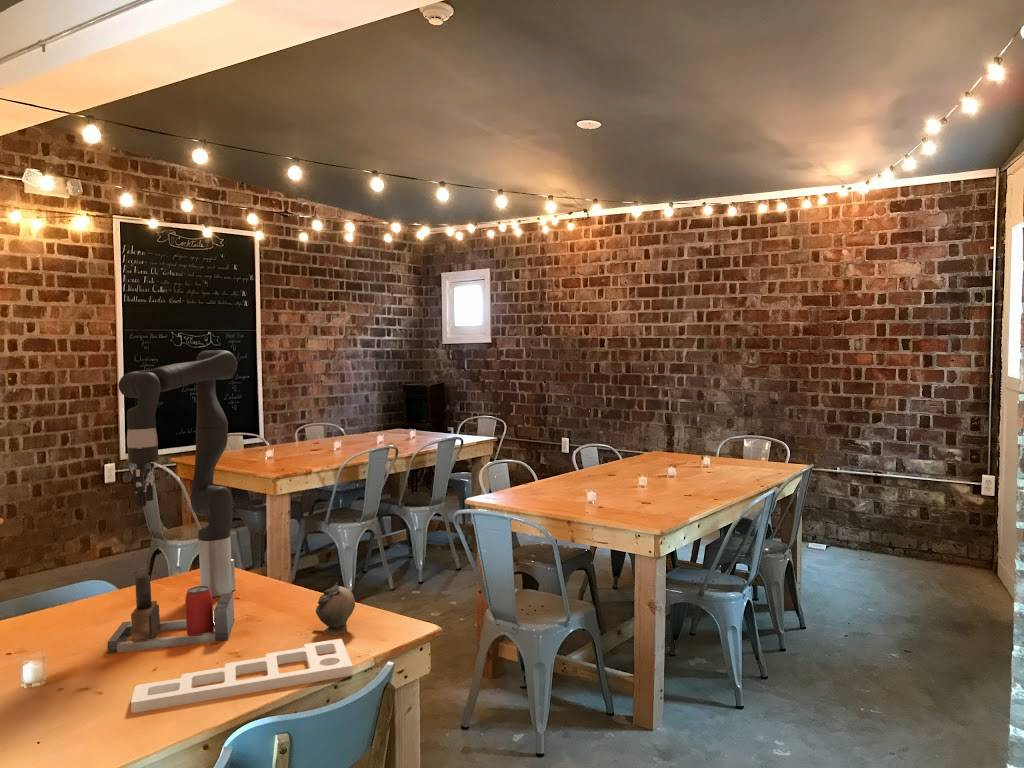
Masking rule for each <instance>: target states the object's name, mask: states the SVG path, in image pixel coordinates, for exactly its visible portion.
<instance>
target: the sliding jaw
mask: <svg viewBox="0 0 1024 768" xmlns="http://www.w3.org/2000/svg"><path fill="white" fill-rule="evenodd" d="M134 581H135V599H136V607H135V609H134V610H133V611H132V612H131V614H130V621H131V625H132V634H131V639H132V640H131V641H136V640H145V639H155V637H156V635H157V633H158V632H159V631H158V630H159V628H160V622H161V618H160V605H159V604H158V602H157V600H152V590H151V589H152V588H151V584H152V583H151V575H150V574H141V575H138V576H135V578H134Z"/></svg>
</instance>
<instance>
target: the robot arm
mask: <svg viewBox="0 0 1024 768" xmlns="http://www.w3.org/2000/svg"><path fill="white" fill-rule="evenodd" d="M195 359H196V360H195V361H187V362H186V361H185V362H179V363H173V364H167V365H163V366H158V367H155V368H151V369H143V370H136V371H130V372H128V373H126V374H124V375H122V376H121V377H120V379H119V381H118V390H119V392H120V393H121V395H123V396H124V397H126V398H129V399H137V404H136V406H133V407H130V408H129V409H127V412H126V422H127V423H126V424H127V425H126V426H127V434H126V435H127V436H126V444H127V445H126V446H127V462H128V463H129V464H132V465H133V464H135V465H136V467H135V469H132V482H133V483H132V485H133V490H132V491H133V492H134V493H135V494H136V505H137V507H138V508H143V507H146V506H147V502H152V501H154V486H155V484H156V475H155V463H156V462H157V461H159V449H158V448H159V441H158V432H157V424H156V423H157V422H156V421H157V420H156V411H157V407H158V403H159V399H160V394H161V392H167V391H171V390H174V389H178V388H182V387H185V386H188V385H192V384H193V385H194V384H195V389H196V421H195V422H196V424H195V454H194V457H195V458H194V469H193V470H194V471H193V477H192V478H193V480H192V485H191V491H190V492H191V493H190V505H191V510H192V511H193V512H194V514H196V515H198V516H204V517H205V516H206V517H208V524H207V525H206V526H203V527H201V528H199V530H198V535H197V537H198V540H197V541H198V557H199V561H198V562H199V580H200V581H199V582H200V585H199V586H208V587H210V591H211V593H212V598H215V597H220V596H221V594H224V593H233V591H235V590H236V573H235V572H236V571H235V559H233V558H232V546H231V543H232V542H231V530H232V526H233V497H232V496H233V495H232V493H231V490H229V488H228V487H226V486H220V485H214V475H215V469H216V466H217V464H218V462H219V461H220V459H221V457H222V455H223V454H224V452H225V449H226V447H227V445H228V439H229V437H228V435H229V434H228V432H229V421H228V418H227V416H226V414H225V412H224V409H223V408H222V406H221V403H220V402H219V399H218V397H217V392H216V381H217V380H218V381H219V380H222V381H223V380H227V379H230V378H232V377H233V376H234V375H235V374H236V372H237V369H238V360H237V358H236V356H235V355H234V354H233V352H230V351H228V350H223V349H217V350H214V349H213V350H210V349H209V350H202V351H201V352H199V353H198V354H197V356H196V358H195Z"/></svg>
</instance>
